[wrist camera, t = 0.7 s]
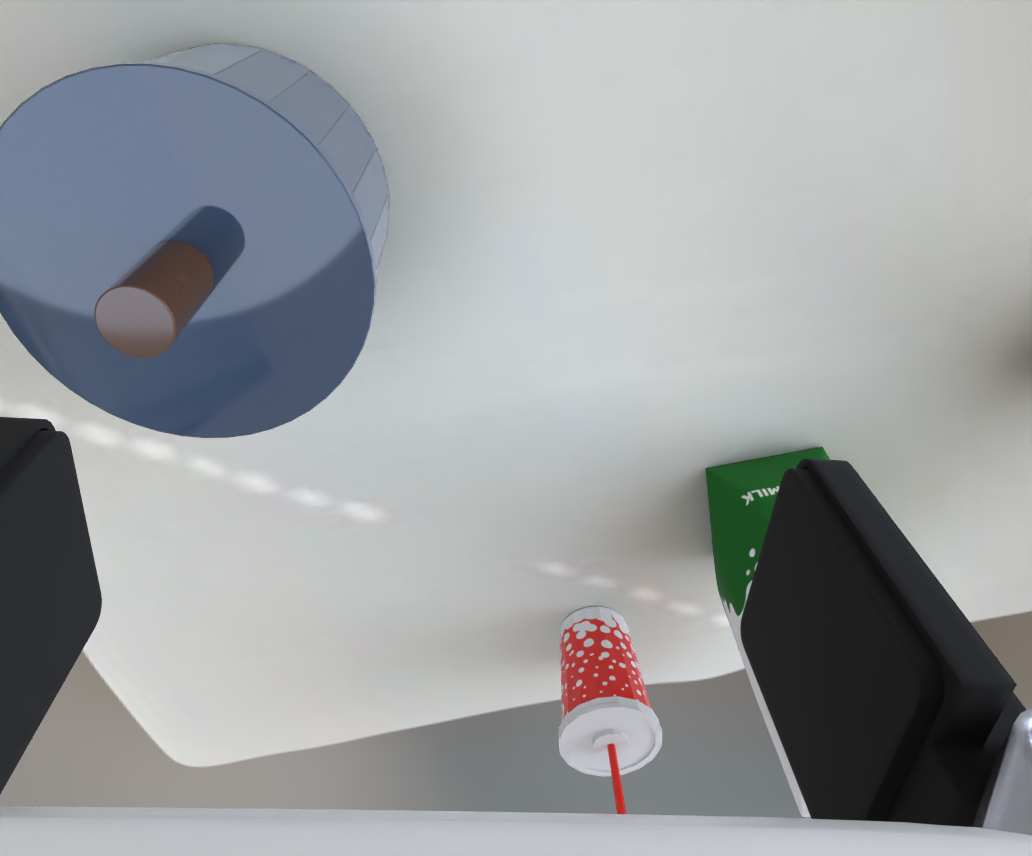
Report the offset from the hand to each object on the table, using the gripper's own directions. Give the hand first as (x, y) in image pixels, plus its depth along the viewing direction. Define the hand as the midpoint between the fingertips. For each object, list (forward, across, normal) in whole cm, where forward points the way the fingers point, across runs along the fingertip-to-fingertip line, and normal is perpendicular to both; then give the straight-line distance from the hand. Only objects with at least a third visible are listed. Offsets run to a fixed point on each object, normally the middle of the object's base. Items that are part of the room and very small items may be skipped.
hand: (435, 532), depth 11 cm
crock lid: (+22, +10, +4) cm, 25 cm away
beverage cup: (+33, -11, +32) cm, 47 cm away
